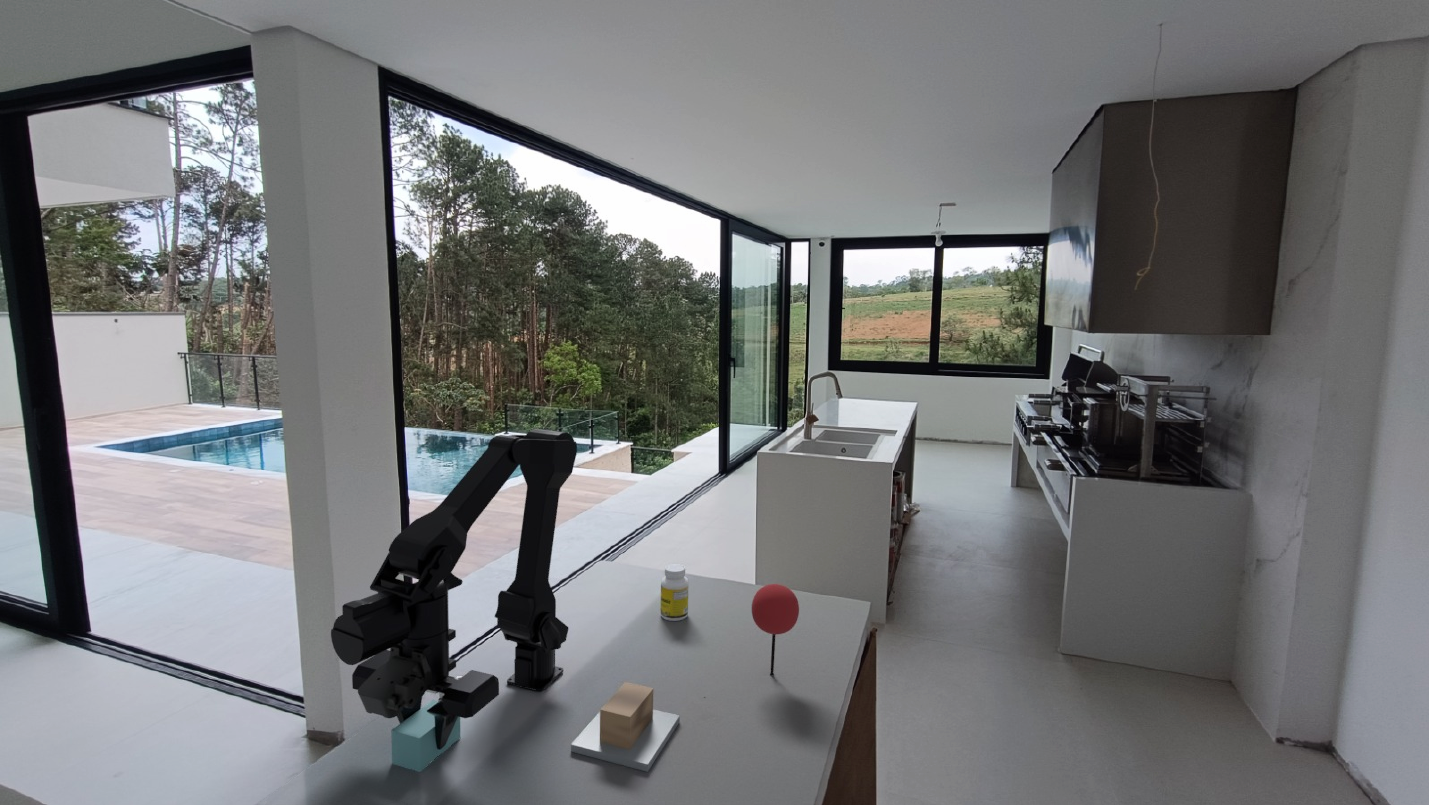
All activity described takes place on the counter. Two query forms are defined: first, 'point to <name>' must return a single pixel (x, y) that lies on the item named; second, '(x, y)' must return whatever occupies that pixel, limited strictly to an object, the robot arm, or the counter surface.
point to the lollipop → (775, 611)
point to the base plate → (641, 750)
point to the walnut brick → (626, 715)
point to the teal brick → (419, 740)
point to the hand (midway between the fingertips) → (426, 743)
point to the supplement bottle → (674, 593)
